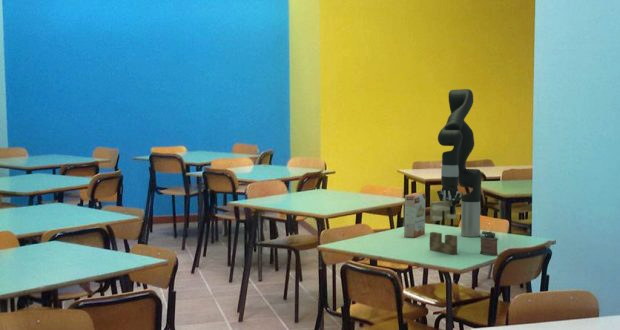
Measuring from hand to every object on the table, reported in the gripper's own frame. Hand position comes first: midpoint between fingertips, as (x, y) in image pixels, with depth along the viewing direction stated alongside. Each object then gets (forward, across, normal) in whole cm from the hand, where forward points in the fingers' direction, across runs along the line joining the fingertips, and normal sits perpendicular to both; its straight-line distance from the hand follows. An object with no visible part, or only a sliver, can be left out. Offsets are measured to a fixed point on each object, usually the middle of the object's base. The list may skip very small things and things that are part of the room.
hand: (449, 213), depth 337 cm
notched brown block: (+17, 0, -4) cm, 17 cm away
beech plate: (+2, 0, -4) cm, 5 cm away
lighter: (+17, +16, +8) cm, 24 cm away
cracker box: (+17, -38, +17) cm, 45 cm away
